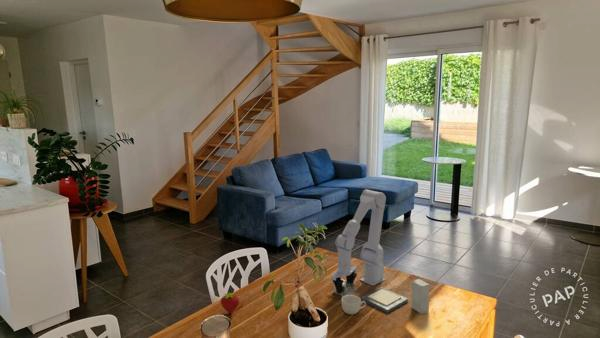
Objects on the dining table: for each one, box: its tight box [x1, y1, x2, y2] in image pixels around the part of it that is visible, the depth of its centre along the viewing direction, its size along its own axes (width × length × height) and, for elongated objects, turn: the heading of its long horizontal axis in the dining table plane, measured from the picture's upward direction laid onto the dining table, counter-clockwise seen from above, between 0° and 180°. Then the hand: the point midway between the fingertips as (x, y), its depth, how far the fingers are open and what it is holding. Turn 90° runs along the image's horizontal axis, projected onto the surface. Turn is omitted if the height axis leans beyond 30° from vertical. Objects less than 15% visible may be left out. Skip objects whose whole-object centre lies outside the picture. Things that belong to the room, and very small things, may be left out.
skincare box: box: [411, 278, 430, 315], centre depth 158 cm, size 6×4×12 cm
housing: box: [333, 278, 356, 297], centre depth 173 cm, size 5×8×6 cm, turn 40°
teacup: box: [341, 295, 367, 315], centre depth 158 cm, size 10×8×5 cm
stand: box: [360, 286, 409, 314], centre depth 166 cm, size 14×14×2 cm
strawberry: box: [220, 292, 240, 314], centre depth 157 cm, size 6×8×10 cm
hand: (344, 290), depth 173 cm, fingers open, 6 cm apart
